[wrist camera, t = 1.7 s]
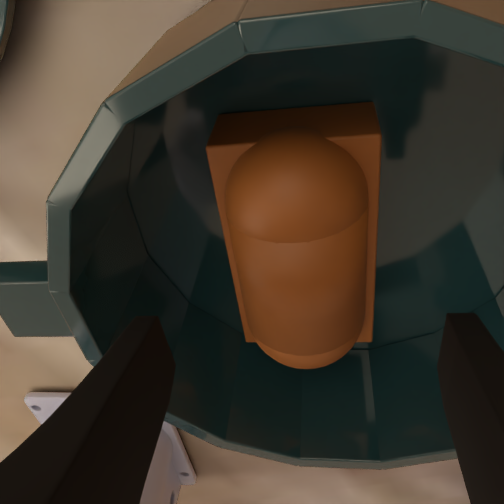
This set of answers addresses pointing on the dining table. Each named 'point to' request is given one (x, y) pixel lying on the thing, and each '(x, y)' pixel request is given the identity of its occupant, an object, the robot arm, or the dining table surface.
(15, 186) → the dining table surface
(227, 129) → the bread
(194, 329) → the pot
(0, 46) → the lid
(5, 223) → the dining table surface
